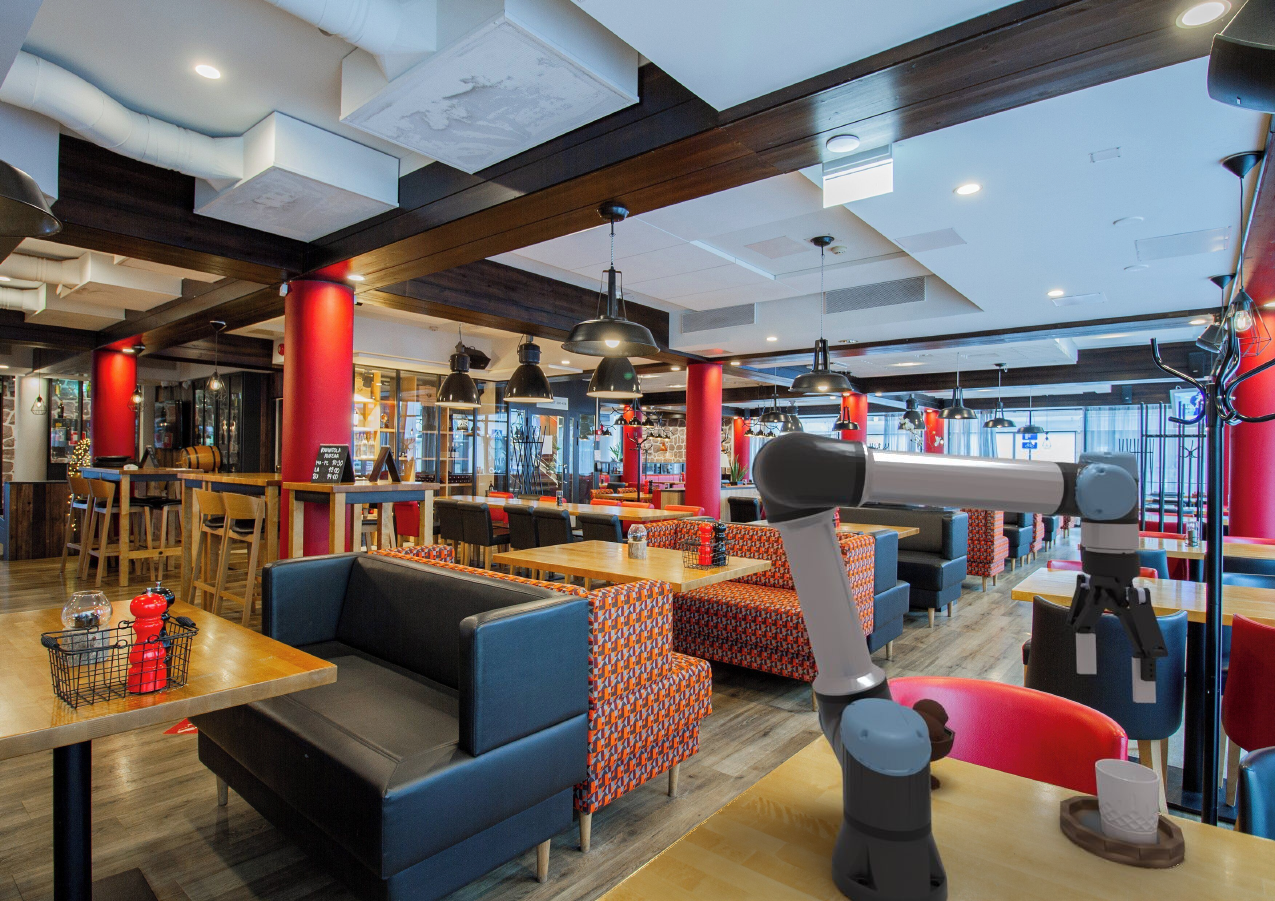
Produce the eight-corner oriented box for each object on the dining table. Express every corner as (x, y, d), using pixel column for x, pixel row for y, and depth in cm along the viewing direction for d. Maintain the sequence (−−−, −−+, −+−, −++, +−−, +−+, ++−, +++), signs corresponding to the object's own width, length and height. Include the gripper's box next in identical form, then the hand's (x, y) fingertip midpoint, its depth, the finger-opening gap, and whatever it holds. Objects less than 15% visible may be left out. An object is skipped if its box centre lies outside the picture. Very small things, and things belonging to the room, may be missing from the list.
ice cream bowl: (907, 763, 130) (906, 686, 131) (967, 783, 122) (965, 700, 123) (881, 781, 123) (879, 699, 124) (942, 803, 115) (940, 715, 115)
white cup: (1173, 854, 97) (1171, 784, 97) (1112, 848, 98) (1110, 779, 99) (1144, 825, 104) (1142, 760, 105) (1087, 820, 106) (1085, 756, 106)
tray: (1099, 867, 96) (1098, 847, 96) (1040, 811, 112) (1039, 794, 112) (1212, 869, 95) (1212, 849, 95) (1136, 813, 111) (1136, 796, 111)
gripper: (1197, 560, 92) (1202, 716, 92) (1085, 541, 117) (1088, 663, 116) (1140, 560, 93) (1145, 715, 92) (1041, 541, 117) (1044, 663, 117)
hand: (1113, 686), depth 104 cm, fingers open, 13 cm apart
